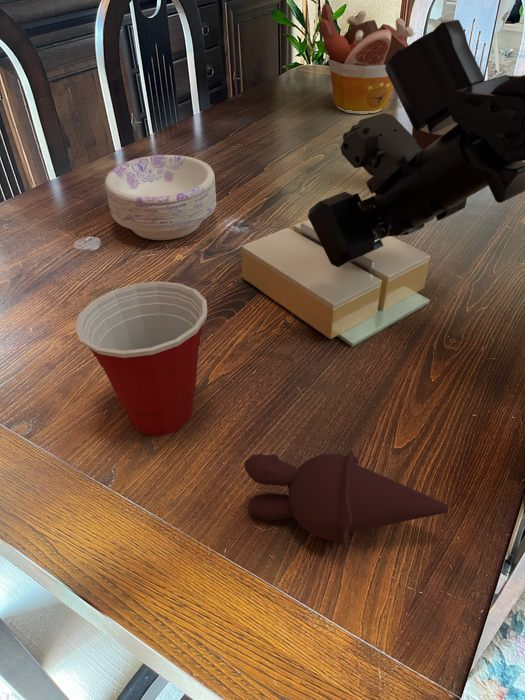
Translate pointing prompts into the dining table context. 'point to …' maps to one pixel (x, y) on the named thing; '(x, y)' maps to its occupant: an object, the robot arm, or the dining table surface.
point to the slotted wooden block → (337, 283)
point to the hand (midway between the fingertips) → (345, 238)
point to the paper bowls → (161, 195)
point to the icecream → (335, 496)
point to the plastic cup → (148, 349)
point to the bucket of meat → (361, 60)
